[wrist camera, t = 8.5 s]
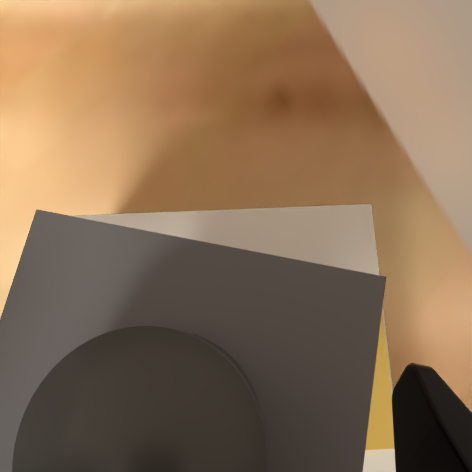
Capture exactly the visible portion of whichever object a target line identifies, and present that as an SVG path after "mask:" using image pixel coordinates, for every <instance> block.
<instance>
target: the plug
mask: <svg viewBox="0 0 472 472" xmlns="http://www.w3.org/2000/svg"><path fill="white" fill-rule="evenodd" d="M385 281H386V277H384V276H379V275H374V274H369V273H364V272H359V271H353V270H348V269H343V268H338V267H333V266H327V265H322V264H317V263H312V262H307V261H301V260H296V259H291V258H286V257H281V256H275V255H270V254H265V253H260V252H255V251H249V250H244V249H239V248H234V247H229V246H223V245H218V244H213V243H208V242H203V241H197V240H192V239H187V238H182V237H177V236H171V235H166V234H161V233H156V232H151V231H146V230H140V229H135V228H130V227H125V226H120V225H114V224H109V223H104V222H99V221H94V220H88V219H83V218H78V217H73V216H68V215H62V214H57V213H52V212H47V211H42V210H36V213H35V216H34V219H33V222H32V225H31V228H30V231H29V234H28V237H27V240H26V243H25V246H24V249H23V252H22V255H21V258H20V261H19V264H18V267H17V270H16V273H15V276H14V279H13V282H12V286H11V289H10V292H9V295H8V298H7V301H6V304H5V307H4V310H3V313H2V316H1V319H0V472H363V464H364V456H365V448H366V439H367V431H368V423H369V414H370V406H371V398H372V389H373V381H374V373H375V364H376V356H377V348H378V339H379V331H380V323H381V314H382V306H383V298H384V289H385Z"/></svg>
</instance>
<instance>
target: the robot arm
mask: <svg viewBox="0 0 472 472" xmlns="http://www.w3.org/2000/svg"><path fill="white" fill-rule="evenodd" d="M392 415H393V432H394V450H395V467H396V472H472V413H471V411H470V410H469V409H468V408H467V407H466V406H465V405H464V403H463V402H462V401H461V400H460V399H459V398H458V396H457V395H456V394H455V393H454V392H453V391H452V390H451V388H450V387H449V386H448V385H447V384H446V383H445V382H444V380H443V379H442V378H441V377H440V376H439V375H438V374H437V372H436V371H435V370H434V369H433V368H431V367H429V366H424V365H419V364H414V363H411V364H409V365H407V367H406V368H405V370H404V372H403V373H402V375H401V377H400V379H399V380H398V382H397V384H396V386H395V387H394V390H393V393H392Z"/></svg>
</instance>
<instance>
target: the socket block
mask: <svg viewBox="0 0 472 472" xmlns="http://www.w3.org/2000/svg"><path fill="white" fill-rule="evenodd" d="M73 217H78V218H83V219H88V220H94V221H99V222H104V223H109V224H114V225H120V226H125V227H130V228H135V229H140V230H146V231H151V232H156V233H161V234H166V235H171V236H177V237H182V238H187V239H192V240H197V241H203V242H208V243H213V244H218V245H223V246H229V247H234V248H239V249H244V250H249V251H255V252H260V253H265V254H270V255H275V256H281V257H286V258H291V259H296V260H301V261H307V262H312V263H317V264H322V265H327V266H333V267H338V268H343V269H348V270H353V271H359V272H364V273H369V274H374V275H379V276H380V274H379V265H378V256H377V248H376V239H375V231H374V222H373V213H372V205H371V204H355V205H330V206H304V207H279V208H254V209H228V210H203V211H178V212H153V213H127V214H102V215H77V216H73ZM392 393H393V385H392V377H391V368H390V359H389V351H388V342H387V334H386V325H385V316H384V308H383V306H382V314H381V323H380V331H379V339H378V348H377V356H376V364H375V373H374V381H373V389H372V398H371V406H370V414H369V423H368V431H367V439H366V448H365V456H364V464H363V472H396V467H395V450H394V432H393V415H392Z"/></svg>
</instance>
